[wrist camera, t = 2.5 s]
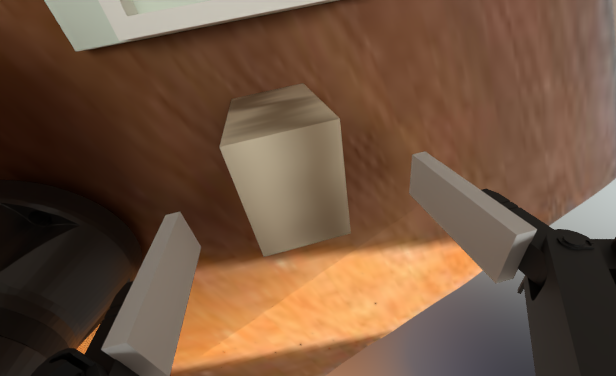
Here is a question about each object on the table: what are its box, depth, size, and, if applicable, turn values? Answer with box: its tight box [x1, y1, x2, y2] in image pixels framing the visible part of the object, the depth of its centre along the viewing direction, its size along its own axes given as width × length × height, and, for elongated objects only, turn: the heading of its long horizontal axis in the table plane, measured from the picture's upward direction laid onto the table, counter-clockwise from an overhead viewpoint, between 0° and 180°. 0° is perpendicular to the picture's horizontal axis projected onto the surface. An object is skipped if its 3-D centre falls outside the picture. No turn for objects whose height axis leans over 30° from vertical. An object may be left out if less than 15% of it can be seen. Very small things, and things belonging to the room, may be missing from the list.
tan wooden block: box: [219, 83, 351, 257], centre depth 18 cm, size 6×8×10 cm
